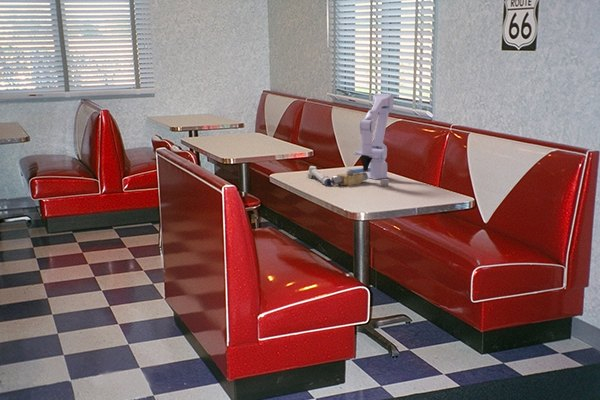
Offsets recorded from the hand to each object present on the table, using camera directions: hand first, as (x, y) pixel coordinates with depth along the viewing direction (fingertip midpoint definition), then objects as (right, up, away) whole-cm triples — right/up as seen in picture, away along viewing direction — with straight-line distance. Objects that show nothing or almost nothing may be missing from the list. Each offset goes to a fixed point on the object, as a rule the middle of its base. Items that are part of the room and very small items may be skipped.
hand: (365, 170), depth 370 cm
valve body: (-8, -7, -2) cm, 11 cm away
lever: (-4, -2, 0) cm, 4 cm away
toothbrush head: (-23, -6, +4) cm, 24 cm away
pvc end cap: (+9, -8, -5) cm, 13 cm away
